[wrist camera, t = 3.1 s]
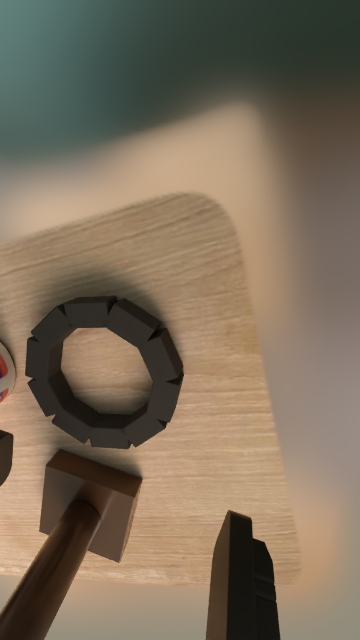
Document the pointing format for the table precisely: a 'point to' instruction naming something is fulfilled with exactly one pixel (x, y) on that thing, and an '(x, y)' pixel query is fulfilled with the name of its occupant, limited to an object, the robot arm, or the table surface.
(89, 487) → the brown upright dowel
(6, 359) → the pill bottle
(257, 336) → the table surface
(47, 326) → the ring
